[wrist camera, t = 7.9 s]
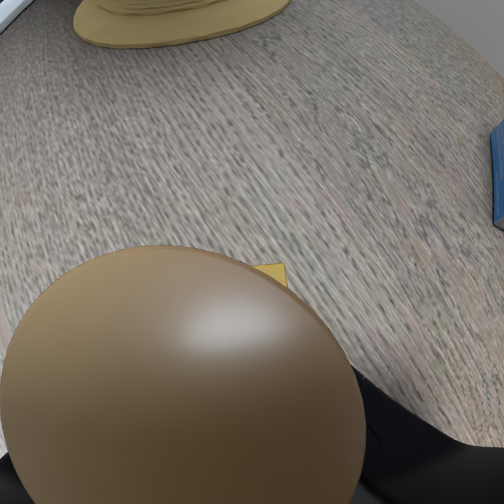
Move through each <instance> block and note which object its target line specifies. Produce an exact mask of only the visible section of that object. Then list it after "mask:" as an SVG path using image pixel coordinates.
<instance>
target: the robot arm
mask: <svg viewBox="0 0 504 504" xmlns="http://www.w3.org/2000/svg"><path fill="white" fill-rule="evenodd" d="M350 365H351V364H350ZM351 367H352V369H353V371H354V374H355V376H356V379H357V383H358V386H359V389H360V393H361V396H362V399H363V406H364V413H365V420H366V449H365V455H364V461H363V467H362V472H361V475H360V478H359V481H358V484H357V487H356V490H355V493H354V495H353V497H352V498H351V500H350V502H349V504H504V448H502V447H480V446H472V445H468V444H465V443H461V442H459V441H457V440H455V439H453V438H451V437H449V436H447V435H446V434H444V433H443V432H441V431H439V430H438V429H436V428H435V427H433V426H432V425H430V424H429V423H427V422H425V421H424V420H422V419H421V418H419V417H418V416H416V415H415V414H413V413H412V412H410V411H409V410H407V409H406V408H404V407H403V406H401V405H400V404H399V403H397V402H396V401H394V400H393V399H391V398H390V397H389V396H388V395H386V394H385V393H384V392H383V391H381V390H380V389H379V388H378V387H376V386H375V385H374V384H373V383H372V382H371V381H369V380H368V379H367V378H364V376H363V375H362V374H361V373H360V372H359V371H358V370H357V369H355V368H354V367H353V366H352V365H351ZM363 378H364V379H363ZM0 504H35V503H34V502H33V500H32V499H31V497H30V496H29V494H28V493H27V491H26V489H25V488H24V486H23V484H22V482H21V480H20V478H19V476H18V474H17V472H16V470H15V468H14V466H13V463H12V461H11V458H10V455H9V452H7V453H6V454H5V455H4V456H3V457H2V458H1V459H0Z"/></svg>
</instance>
